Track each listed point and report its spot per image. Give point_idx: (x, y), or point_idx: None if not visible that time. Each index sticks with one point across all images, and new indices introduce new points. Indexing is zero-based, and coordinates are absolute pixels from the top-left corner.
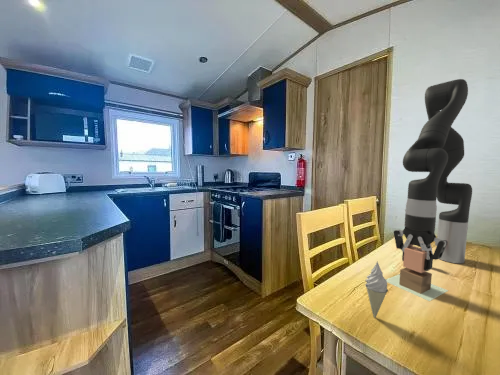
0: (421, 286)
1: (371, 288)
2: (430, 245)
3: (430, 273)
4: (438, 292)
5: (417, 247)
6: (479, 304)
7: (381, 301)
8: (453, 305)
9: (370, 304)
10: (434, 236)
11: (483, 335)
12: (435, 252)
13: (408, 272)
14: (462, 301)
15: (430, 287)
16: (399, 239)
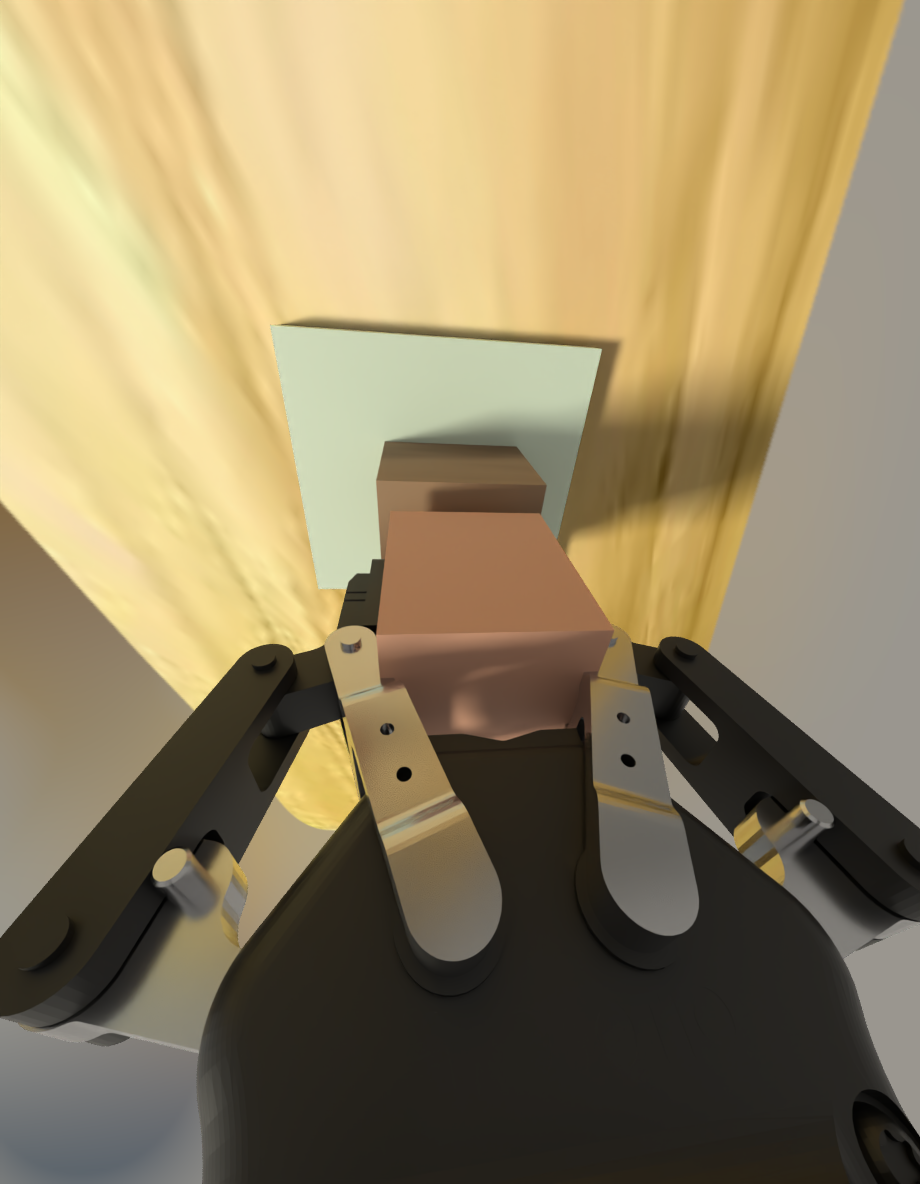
0: None
1: None
2: (651, 742)
3: (539, 493)
4: (559, 453)
5: (450, 642)
6: (743, 313)
7: None
8: (620, 479)
9: None
10: (824, 989)
11: (697, 603)
12: (683, 764)
13: None
14: (660, 375)
15: (518, 451)
16: (249, 820)
